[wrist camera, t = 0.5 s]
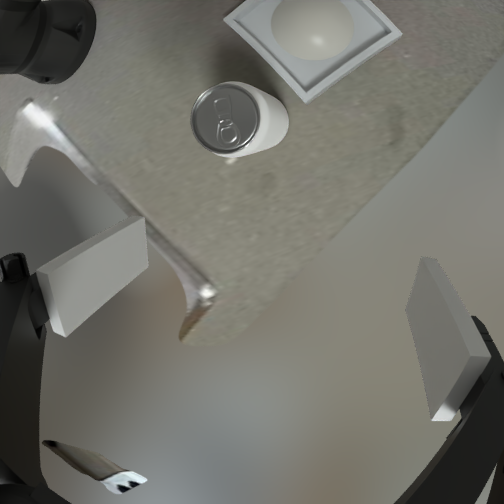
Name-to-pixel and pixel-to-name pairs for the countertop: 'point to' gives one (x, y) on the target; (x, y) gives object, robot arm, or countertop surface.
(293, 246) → the countertop surface
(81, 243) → the robot arm
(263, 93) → the can
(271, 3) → the flange tray
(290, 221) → the countertop surface
